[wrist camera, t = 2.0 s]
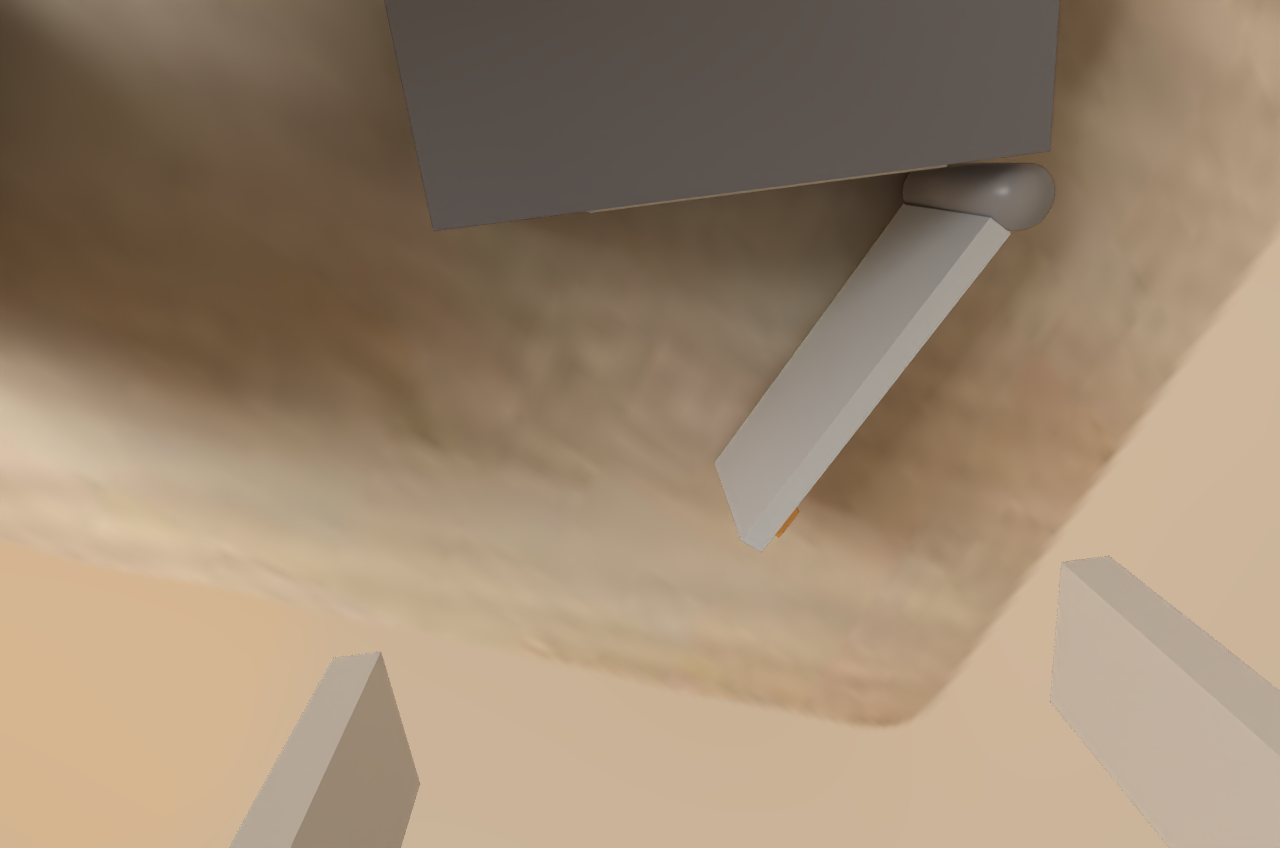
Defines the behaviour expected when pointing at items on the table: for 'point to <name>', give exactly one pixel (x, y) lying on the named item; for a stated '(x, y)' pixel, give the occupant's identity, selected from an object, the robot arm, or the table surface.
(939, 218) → the side door
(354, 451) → the table surface
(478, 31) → the camera body
